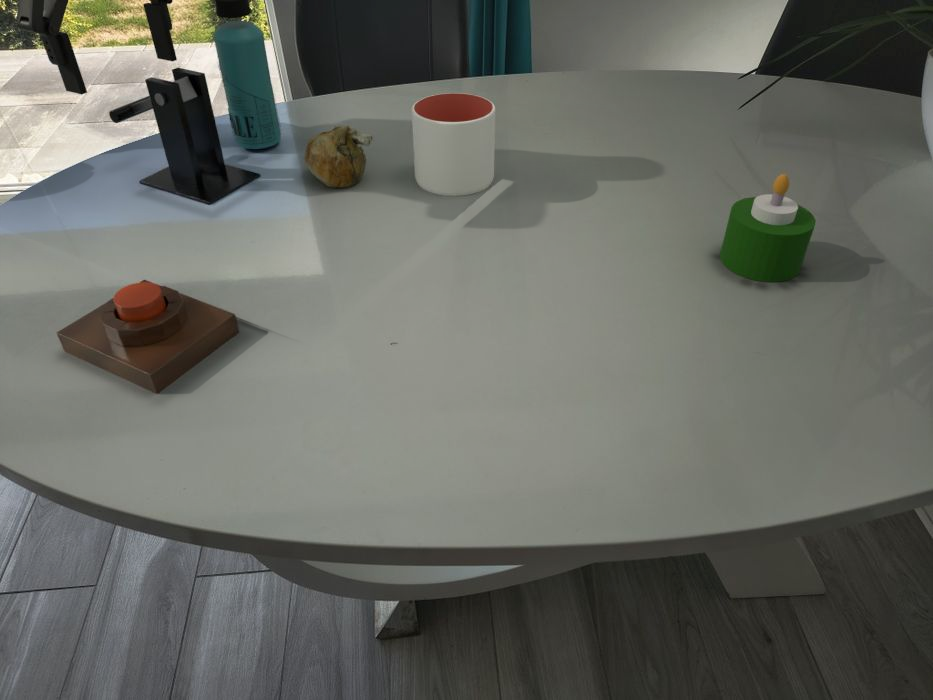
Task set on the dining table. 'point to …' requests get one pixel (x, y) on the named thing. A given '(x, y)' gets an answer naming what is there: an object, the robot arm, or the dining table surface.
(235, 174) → the bracket
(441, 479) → the dining table surface
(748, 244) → the candle
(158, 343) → the button block
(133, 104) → the lever
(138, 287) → the button
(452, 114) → the cup
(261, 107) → the beverage bottle
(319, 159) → the onion
